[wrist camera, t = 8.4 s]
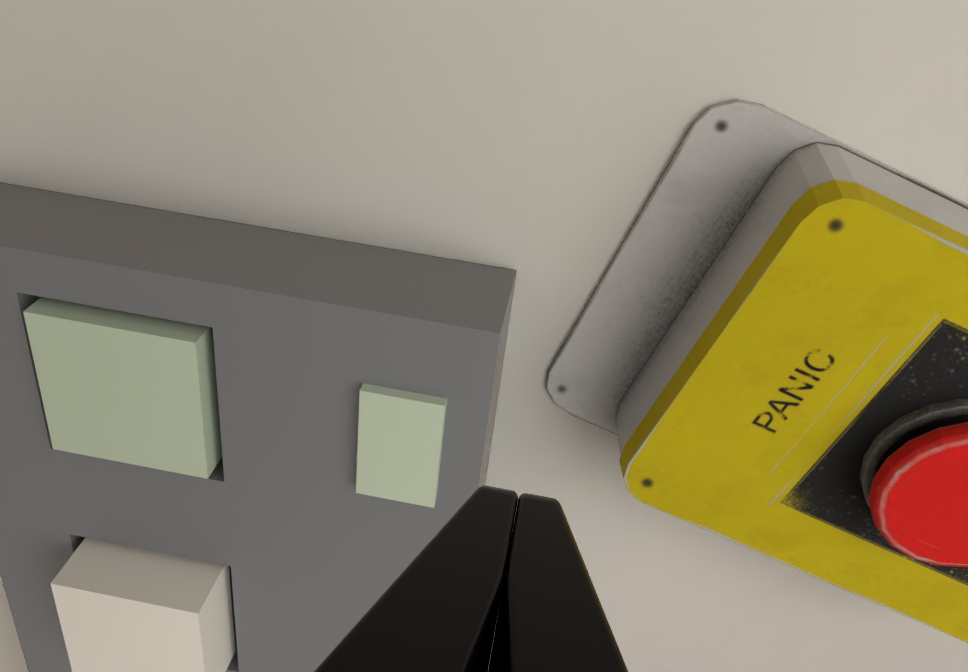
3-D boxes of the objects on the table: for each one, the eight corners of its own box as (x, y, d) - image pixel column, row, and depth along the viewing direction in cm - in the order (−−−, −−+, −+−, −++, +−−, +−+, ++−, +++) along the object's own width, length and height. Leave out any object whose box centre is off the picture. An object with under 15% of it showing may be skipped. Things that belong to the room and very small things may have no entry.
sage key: (238, 431, 23) (207, 478, 22) (94, 403, 24) (52, 448, 22) (230, 300, 21) (195, 342, 19) (71, 272, 21) (22, 311, 20)
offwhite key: (235, 650, 27) (208, 707, 25) (108, 624, 27) (73, 678, 25) (228, 558, 24) (198, 613, 23) (90, 530, 25) (50, 583, 23)
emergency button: (1066, 727, 21) (517, 492, 20) (1002, 589, 25) (535, 384, 23) (1438, 480, 16) (734, 142, 15) (1288, 354, 20) (714, 75, 18)
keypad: (440, 785, 33) (423, 873, 31) (103, 713, 34) (57, 792, 32) (516, 270, 21) (498, 340, 18) (-16, 180, 22) (-110, 233, 19)
